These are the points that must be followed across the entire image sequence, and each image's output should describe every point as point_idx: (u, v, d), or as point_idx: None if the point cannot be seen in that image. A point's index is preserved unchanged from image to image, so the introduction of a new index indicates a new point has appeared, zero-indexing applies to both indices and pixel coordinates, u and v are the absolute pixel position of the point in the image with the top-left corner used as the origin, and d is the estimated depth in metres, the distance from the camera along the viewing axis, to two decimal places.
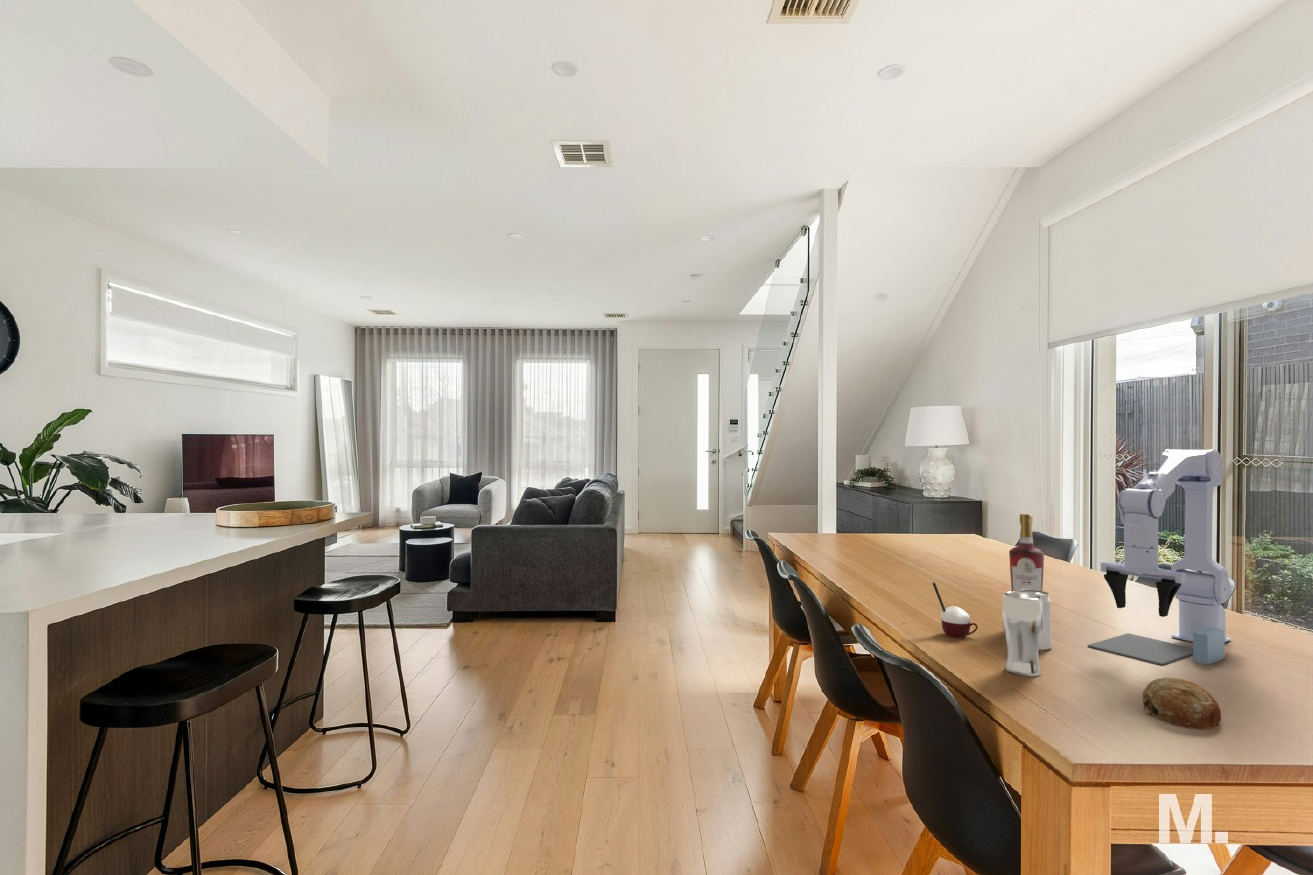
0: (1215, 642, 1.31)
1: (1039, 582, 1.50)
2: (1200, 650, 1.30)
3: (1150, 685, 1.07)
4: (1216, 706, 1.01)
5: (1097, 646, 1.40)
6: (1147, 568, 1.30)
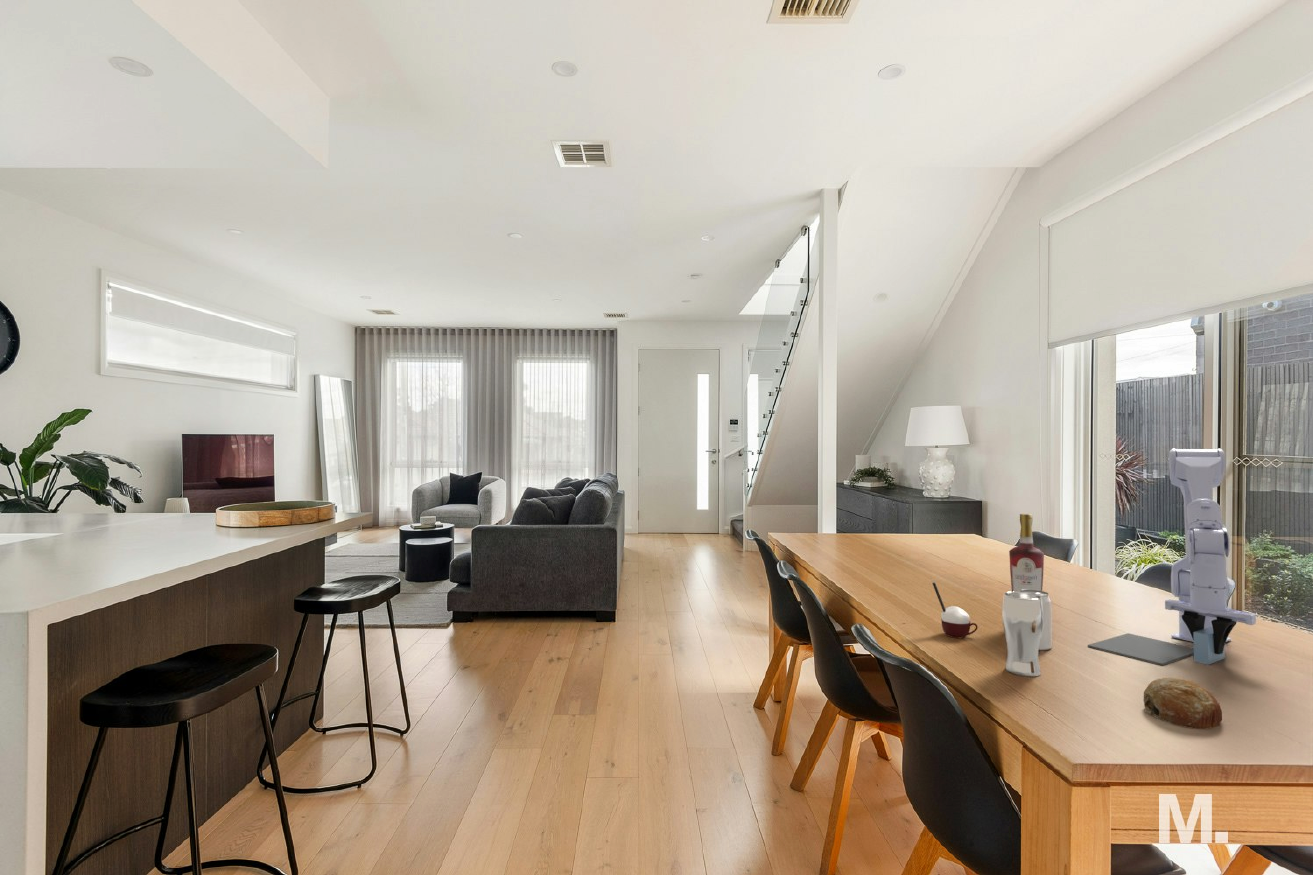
0: None
1: (1039, 582, 1.50)
2: (1201, 650, 1.30)
3: (1151, 685, 1.07)
4: (1217, 706, 1.01)
5: (1097, 646, 1.40)
6: (1216, 608, 1.30)
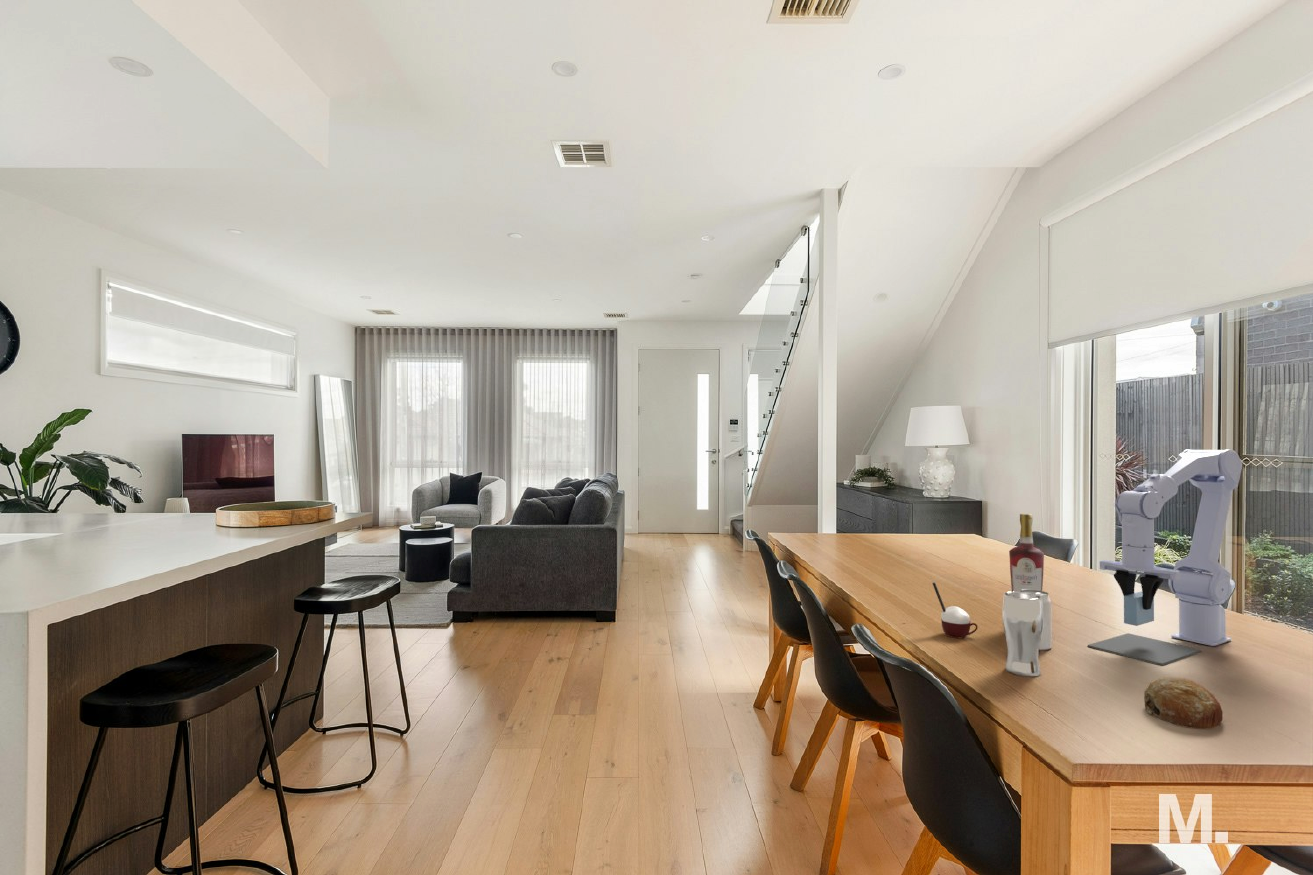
0: None
1: (1039, 582, 1.50)
2: (1130, 612, 1.38)
3: (1152, 685, 1.07)
4: (1218, 706, 1.01)
5: (1097, 646, 1.40)
6: (1144, 566, 1.37)
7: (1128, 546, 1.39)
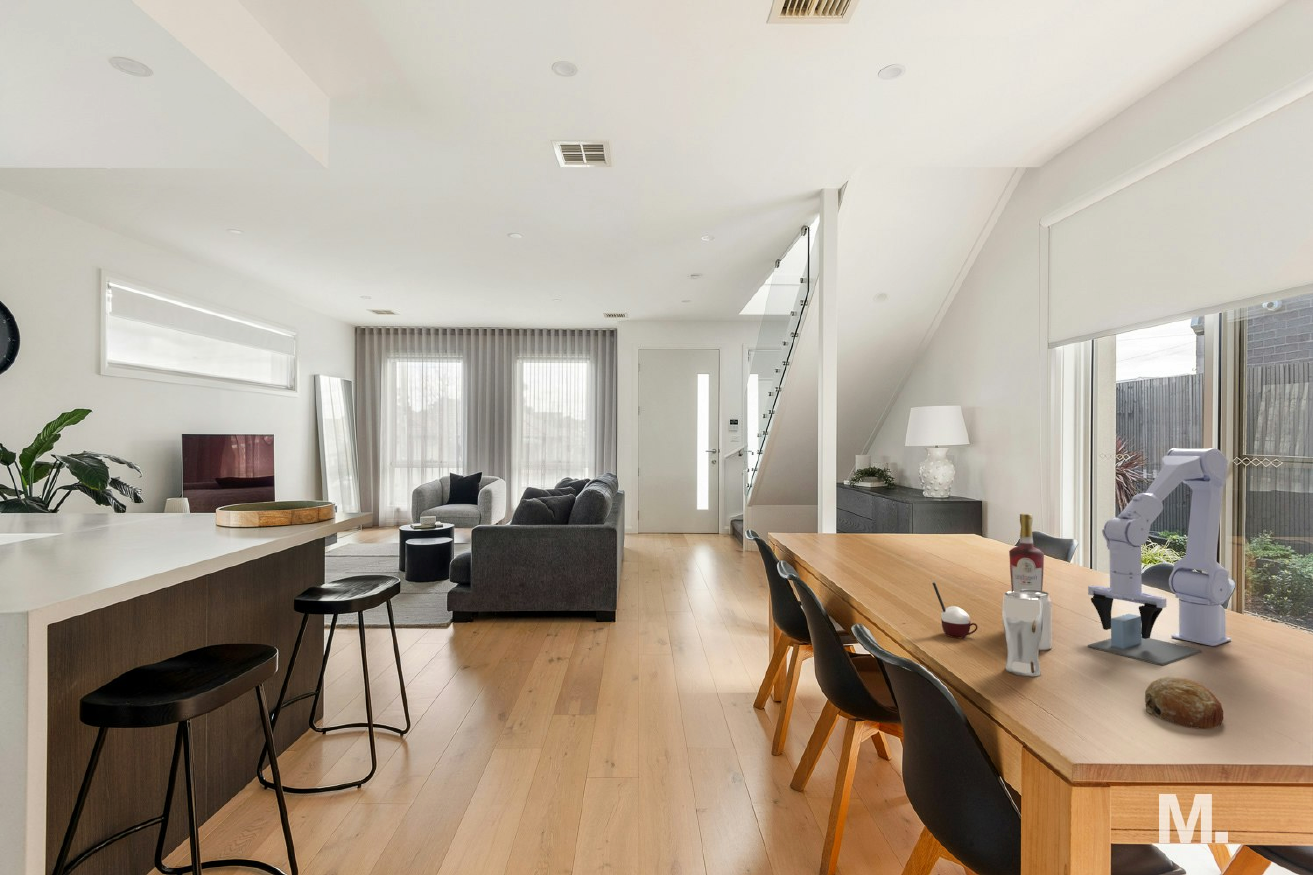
0: (1131, 627, 1.40)
1: (1039, 582, 1.50)
2: (1117, 635, 1.39)
3: (1152, 685, 1.07)
4: (1218, 706, 1.01)
5: (1097, 646, 1.40)
6: (1131, 593, 1.39)
7: (1115, 573, 1.41)
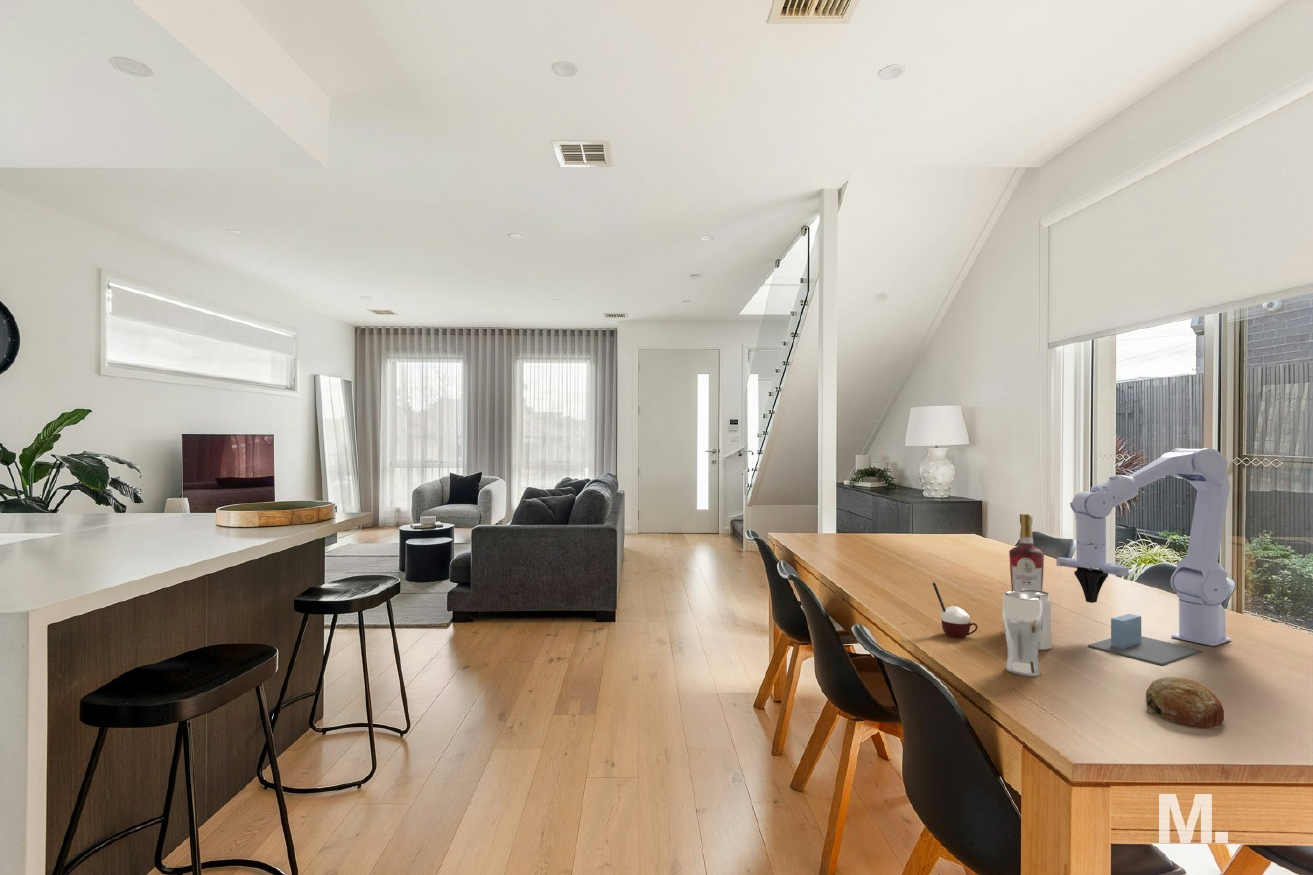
0: (1131, 627, 1.40)
1: (1039, 582, 1.50)
2: (1117, 635, 1.39)
3: (1153, 685, 1.07)
4: (1219, 705, 1.01)
5: (1097, 646, 1.40)
6: (1095, 563, 1.45)
7: (1081, 544, 1.47)
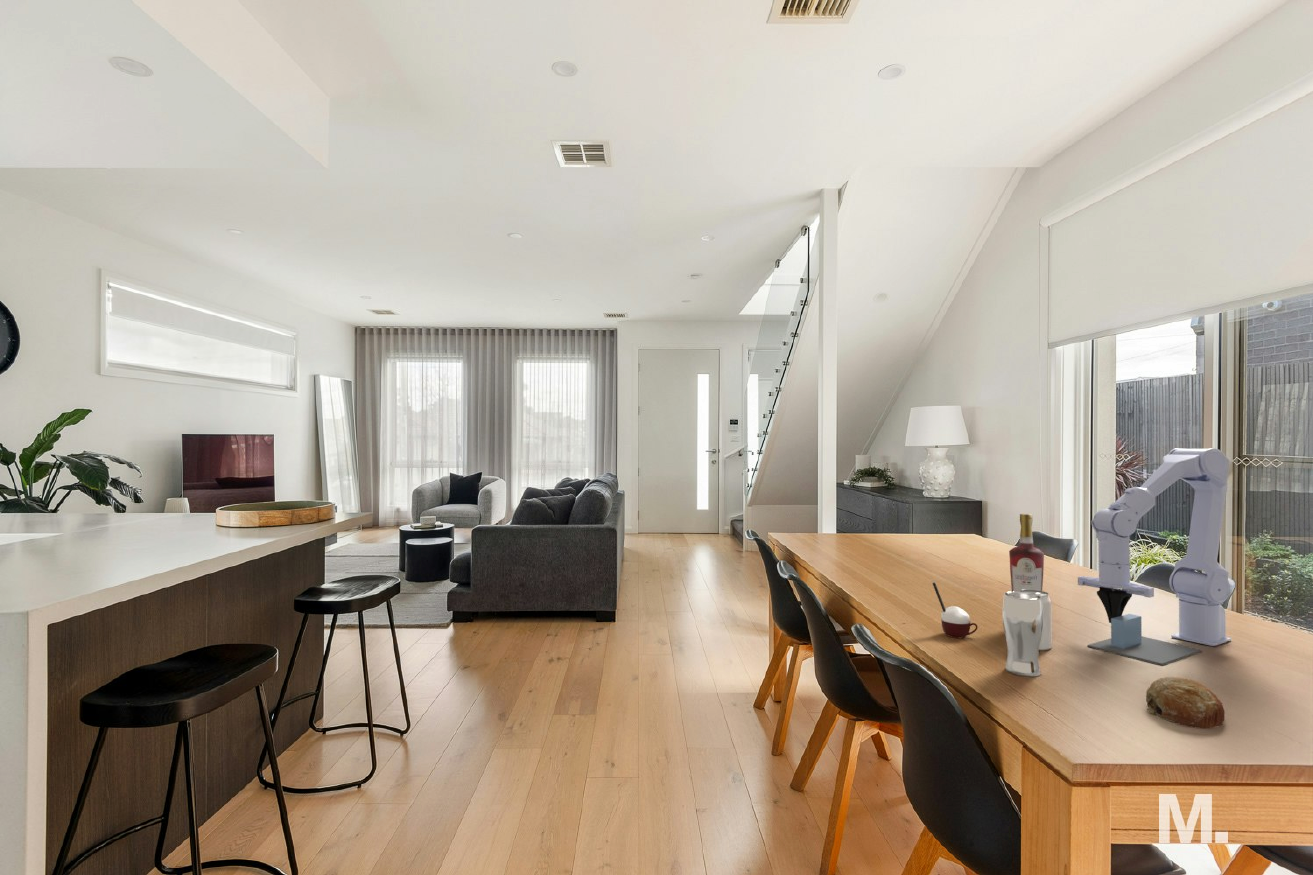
0: (1132, 627, 1.40)
1: (1039, 582, 1.50)
2: (1117, 635, 1.39)
3: (1154, 684, 1.07)
4: (1220, 705, 1.01)
5: (1097, 646, 1.40)
6: (1119, 583, 1.41)
7: (1104, 563, 1.43)
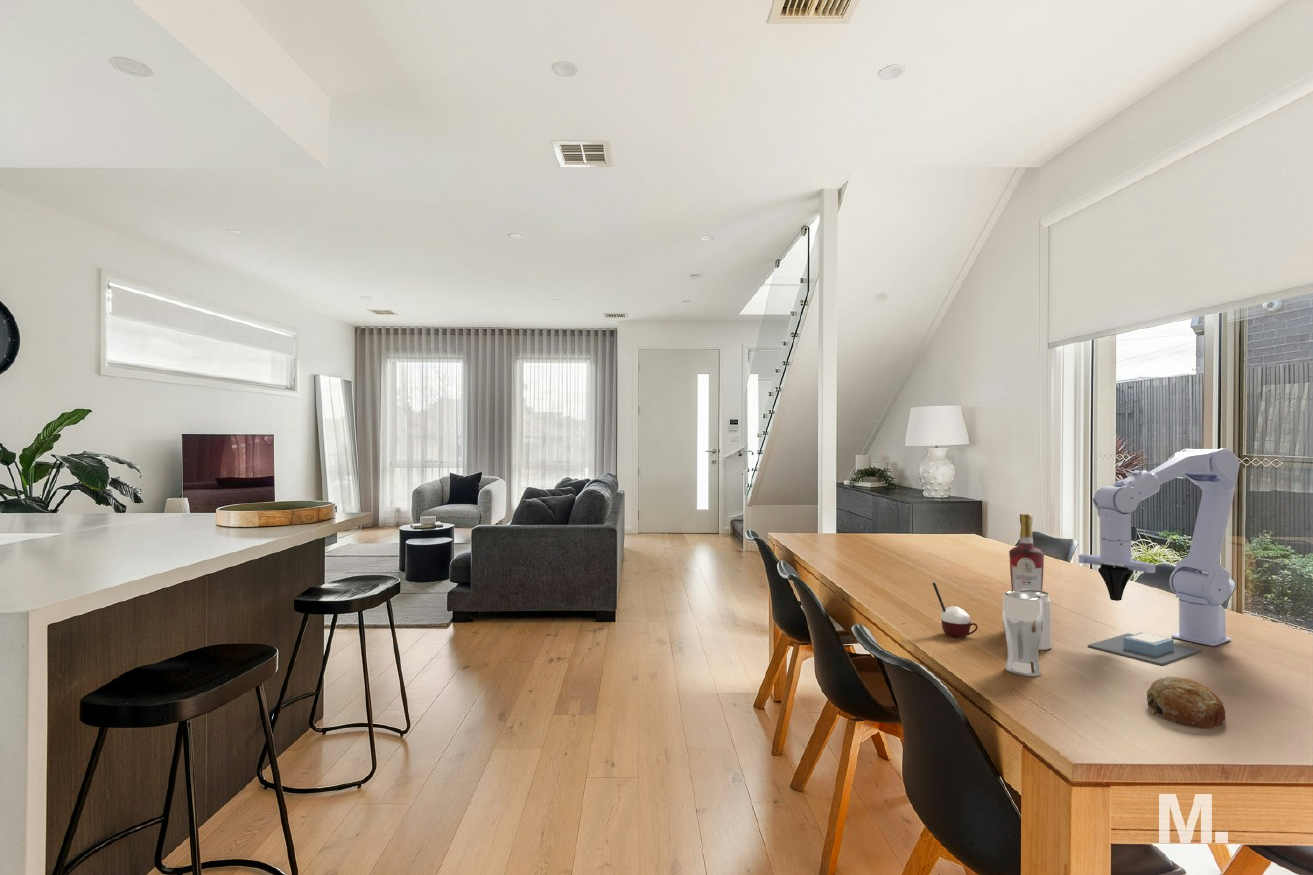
0: None
1: (1039, 582, 1.50)
2: (1137, 646, 1.36)
3: (1154, 684, 1.07)
4: (1220, 705, 1.01)
5: (1097, 646, 1.40)
6: (1120, 559, 1.40)
7: (1105, 540, 1.42)
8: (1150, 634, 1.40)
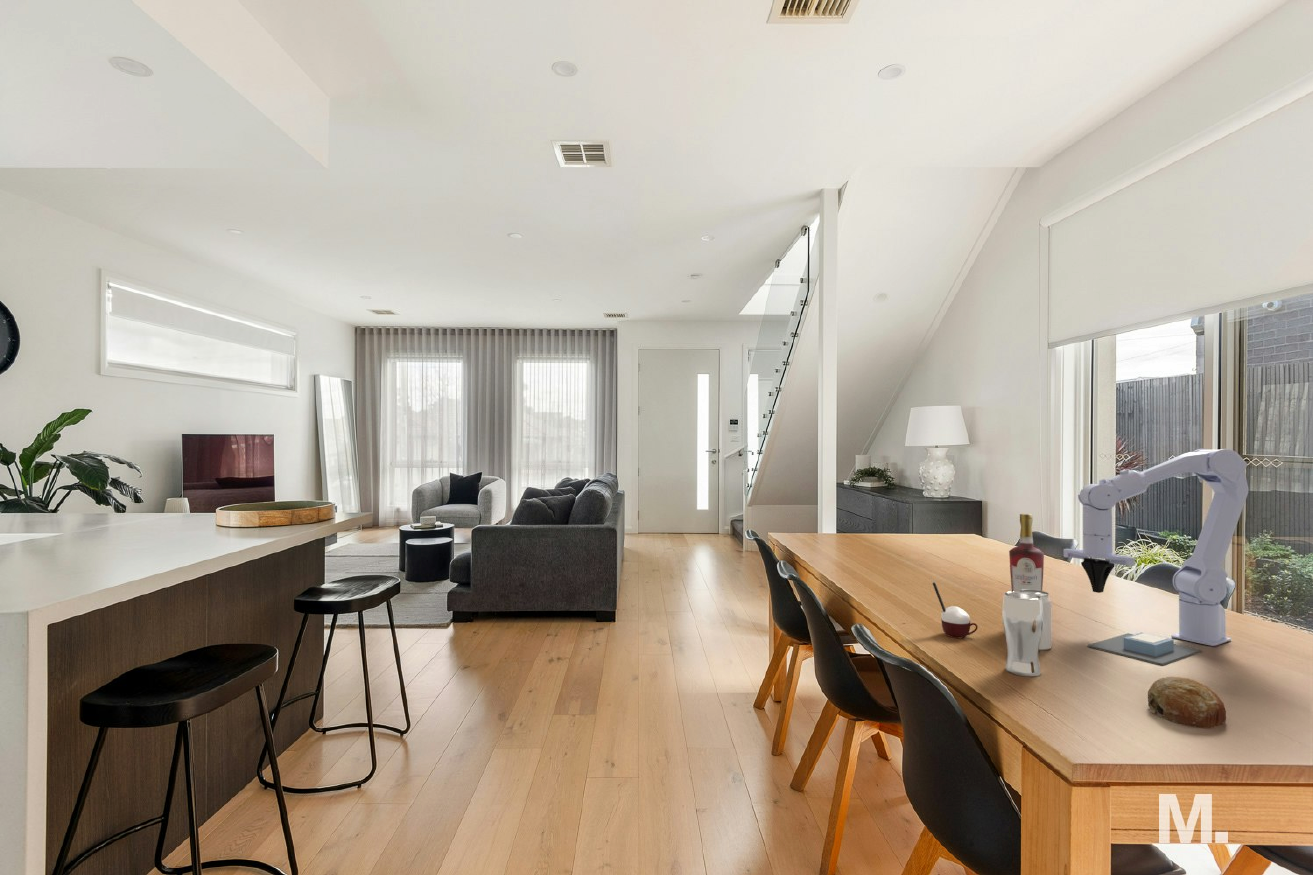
0: None
1: (1039, 582, 1.50)
2: (1137, 646, 1.36)
3: (1155, 684, 1.07)
4: (1221, 705, 1.01)
5: (1097, 646, 1.40)
6: (1102, 553, 1.48)
7: (1088, 535, 1.50)
8: (1150, 634, 1.40)
